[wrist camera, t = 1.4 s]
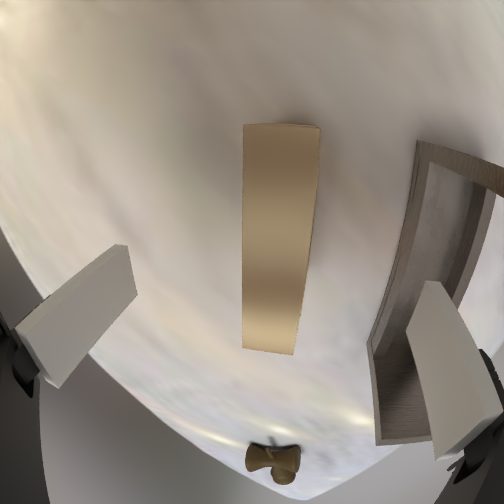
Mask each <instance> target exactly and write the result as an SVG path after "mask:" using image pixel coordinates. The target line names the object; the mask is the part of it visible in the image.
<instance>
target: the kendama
mask: <svg viewBox="0 0 504 504" xmlns="http://www.w3.org/2000/svg"><path fill="white" fill-rule="evenodd" d="M300 459H301V456H300V448H299V447H298V446H295V447H292V448H290V449H287V450H284V451H278V452H275V451H271V450H270V449H269V448H268V447H267V448H266V450H264V449H262V448H260V447H258V446H256V445H254V444H251V445H250V446H249V447H248V449H247V452H246V458H245V465H246V468H247V470H248V471H249V472H253V471H256V470H258V469H261V468H264V467H272V469H271V475H272V477H273V480H274V482H276V483H277V484H281V485H286V484H289V483H292V482H293V481H294V479H295V476H296V473H297V472H298V470H299V467H300Z"/></svg>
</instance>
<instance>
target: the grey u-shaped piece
mask: <svg viewBox="0 0 504 504" xmlns="http://www.w3.org/2000/svg"><path fill="white" fill-rule="evenodd" d="M496 194H498V195H500V196H501V197H503V198H504V168H503V167H501V166H498V165H496V164H493V163H490V162H488V161H485V160H482V159H479V158H476V157H473V156H470V155H467V154H464V153H461V152H458V151H455V150H451V149H448V148H444V147H441V146H437V145H434V144H430V143H426V142H422V141H418V140H417V146H416V155H415V163H414V170H413V177H412V183H411V189H410V195H409V200H408V205H407V210H406V215H405V220H404V225H403V229H402V233H401V238H400V242H399V246H398V250H397V254H396V257H395V261H394V265H393V268H392V272H391V275H390V278H389V282H388V285H387V288H386V291H385V294H384V298H383V301H382V304H381V306H380V309H379V312H378V315H377V318H376V321H375V323H374V326H373V329H372V331H371V334H370V337H369V339H368V342H367V351H368V358H369V366H370V375H371V384H372V394H373V406H374V420H375V439H376V446H381V445H396V444H407V443H416V442H423V441H431V440H432V435H431V429H430V423H429V418H428V413H427V408H426V404H425V399H424V395H423V391H422V386H421V382H420V379H419V375H418V371H417V367H416V364H415V360H414V357H413V353H412V350H411V346H410V343H409V340H408V337H407V334H406V329H407V327H408V325H409V322H410V320H411V317H412V315H413V313H414V310H415V308H416V305H417V303H418V300H419V297H420V295H421V292H422V289H423V286H424V284H425V281H426V280H427V281H437V282H441V284H442V286H443V287H444V289H445V290H446V292H447V294H448V295H449V297H450V298H451V300H452V302H453V304H454V305H455V307H456V309H457V310H458V307H459V305H460V303H461V301H462V299H463V296H464V294H465V292H466V289H467V287H468V285H469V282H470V280H471V277H472V275H473V272H474V269H475V267H476V264H477V261H478V258H479V255H480V252H481V249H482V246H483V243H484V240H485V237H486V233H487V230H488V226H489V223H490V219H491V215H492V211H493V207H494V203H495V198H496Z"/></svg>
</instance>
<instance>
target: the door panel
mask: <svg viewBox="0 0 504 504" xmlns="http://www.w3.org/2000/svg"><path fill="white" fill-rule="evenodd" d="M319 143H320V129H319V128H318V127H316V126H309V125H297V124H282V123H265V124H248V125H244V126H243V211H242V348H246V349H252V350H258V351H265V352H272V353H279V354H287V355H293V353H294V347H295V342H296V336H297V330H298V324H299V318H300V316H301V310H302V303H303V297H304V290H305V283H306V276H307V269H308V262H309V254H310V246H311V238H312V230H313V221H314V211H315V201H316V191H317V180H318V168H319Z"/></svg>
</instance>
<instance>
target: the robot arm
mask: <svg viewBox="0 0 504 504" xmlns="http://www.w3.org/2000/svg"><path fill="white" fill-rule="evenodd" d="M137 295H138V294H137V290H136V286H135V281H134V276H133V272H132V267H131V262H130V257H129V251H128V246H126V245H118V244H115V245H113V246H112V247H111V248H109V249H108V250H107V251H105V252H104V253H103V254H101V255H100V256H99V257H97V258H96V259H95V260H94V261H92V262H91V263H90V264H88V265H87V266H86V267H85V268H83V269H82V270H81V271H79V272H78V273H77V274H76V275H74V276H73V277H72V278H71V279H70V280H68V281H67V282H66V283H65V284H63V285H62V286H61V287H60V288H59V289H57V290H56V291H55V292H54V293H53V294H51V295H49V296H48V297H47V298H46V299H45V300H43V301H42V302H41V304H39V305H38V306H37V307H36V308H35V310H32V311H31V312H30V313H29V314H28V315H27V316H26V317H24V318H23V319H22V320H21V321H20V322H19V323H18V324H17V325H16V326H15V327H14V328H13V329H12V330H9V328H8V326H7V324H6V322H5V320H4V318H3V316H2V314H1V312H0V504H50V501H49V497H48V492H47V487H46V481H45V476H44V468H43V461H42V451H41V440H40V420H39V391H40V380H39V377H38V376H37V374H38V373H39V372H41V373H42V375H43V376H44V377H45V379H46V381H47V382H49V383H50V384H52V385H53V386H55V387H57V388H58V389H59V388H60V387H61V385H62V384H63V382H64V381H65V380H66V379H67V377H68V376H69V375H70V374H71V372H72V371H73V370H74V369H75V367H76V366H77V365H78V364H79V363H80V361H81V360H82V359H83V358H84V356H85V355H86V354H87V353H88V352H89V350H90V349H91V348H92V347H93V346H94V344H95V343H96V342H97V341H98V340H99V338H100V337H101V336H102V335H103V334H104V333H105V331H106V330H107V329H108V328H109V327H110V326H111V324H112V323H113V322H114V321H115V320H116V319H117V318H118V316H119V315H120V314H121V313H122V312H123V311H124V310H125V308H126V307H127V306H128V305H129V304H130V303H131V302H132V301H133V299H134V298H135V297H136V296H137ZM406 334H407V337H408V340H409V343H410V346H411V350H412V353H413V357H414V360H415V364H416V367H417V371H418V375H419V379H420V382H421V386H422V391H423V395H424V399H425V404H426V408H427V413H428V418H429V423H430V429H431V435H432V441H433V447H434V454H435V460H436V461H437V460H442V459H446V458H450V457H454V456H455V455H456V454H457V453H459V452H460V451H461V450H462V449H464V454H465V455H464V456H463V457H462V458H460V459H459V460H458V461H456V462H455V463H454V464H452V465H451V466H450V467H449V468H448V469H447V471H450V470H452V469H453V468H454V467H456V468H455V470H454V471H453V472H452V475H451V477H450V479H449V481H448V482H447V484H446V486H445V487H444V489H443V491H442V492H441V494H440V495H439V497H438V499H437V500H436V502H435V503H434V504H504V389H503V386H502V384H501V381H500V380H499V377H498V375H497V372H496V371H495V368H494V366H493V364H492V361H491V359H490V358H489V357H488V355H487V354H486V353H485V352H484V351H483V350H482V349H478V348H477V346H476V344H475V342H474V340H473V338H472V336H471V334H470V332H469V330H468V328H467V327H466V325H465V323H464V321H463V319H462V317H461V316H460V314H459V312H458V310H457V309H456V307H455V305H454V304H453V302H452V300H451V298H450V297H449V295H448V294H447V292H446V290H445V289H444V287H443V286H442V284H441V282H437V281H427V280H426V281H425V284H424V286H423V289H422V292H421V295H420V297H419V300H418V303H417V305H416V308H415V310H414V313H413V315H412V317H411V320H410V322H409V325H408V327H407V329H406Z"/></svg>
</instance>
